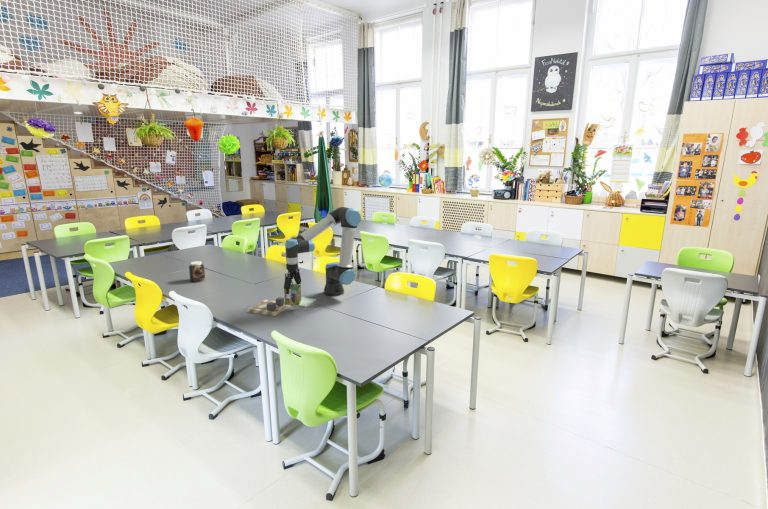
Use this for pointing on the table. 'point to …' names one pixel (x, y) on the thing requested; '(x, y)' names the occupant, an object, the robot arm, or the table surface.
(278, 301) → the switch
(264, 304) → the switch panel
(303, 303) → the mat
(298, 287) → the chalk box
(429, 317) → the table surface
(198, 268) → the jar
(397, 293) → the table surface
